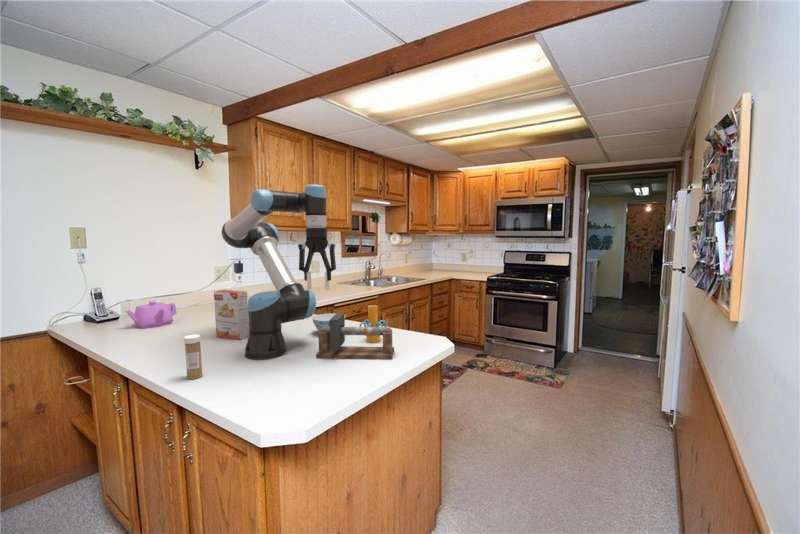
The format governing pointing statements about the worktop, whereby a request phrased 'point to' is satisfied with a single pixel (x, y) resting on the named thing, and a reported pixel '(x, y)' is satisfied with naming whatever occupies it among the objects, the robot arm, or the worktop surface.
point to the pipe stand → (355, 351)
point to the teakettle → (153, 314)
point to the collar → (336, 331)
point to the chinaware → (323, 320)
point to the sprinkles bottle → (193, 356)
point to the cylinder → (373, 323)
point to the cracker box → (231, 314)
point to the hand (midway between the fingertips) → (318, 289)
